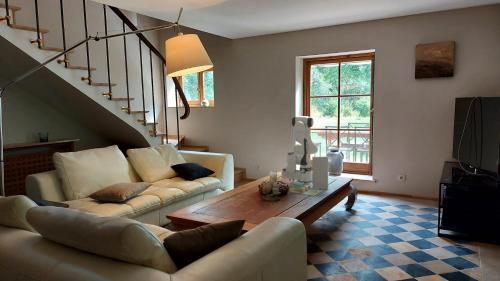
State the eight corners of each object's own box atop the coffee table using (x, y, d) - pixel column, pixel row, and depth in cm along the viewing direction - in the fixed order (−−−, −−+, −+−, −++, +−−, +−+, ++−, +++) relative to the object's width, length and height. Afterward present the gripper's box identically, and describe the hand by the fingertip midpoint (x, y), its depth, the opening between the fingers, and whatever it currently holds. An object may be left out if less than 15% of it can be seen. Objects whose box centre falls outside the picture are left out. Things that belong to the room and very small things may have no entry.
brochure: (327, 187, 333) (327, 156, 330) (328, 188, 328) (328, 157, 325) (312, 187, 335) (312, 156, 331) (312, 188, 329) (312, 157, 326)
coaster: (297, 185, 329) (297, 181, 329) (305, 186, 325) (305, 182, 324) (293, 186, 323) (293, 183, 323) (301, 187, 318) (301, 184, 318)
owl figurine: (284, 199, 297) (283, 179, 295) (276, 202, 287) (275, 182, 285) (266, 196, 308) (266, 177, 306) (258, 199, 299) (258, 179, 297)
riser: (299, 187, 334) (298, 183, 334) (310, 189, 327) (310, 185, 327) (289, 192, 320) (289, 187, 319) (301, 193, 313) (301, 189, 312)
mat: (311, 189, 328) (311, 188, 328) (323, 190, 321) (323, 190, 321) (302, 194, 311) (302, 193, 311) (314, 195, 305) (314, 195, 304)
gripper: (303, 169, 323) (303, 184, 325) (284, 167, 335) (284, 181, 337) (299, 170, 318) (299, 185, 320) (280, 168, 330) (280, 183, 331)
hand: (291, 183), depth 328 cm, fingers closed
